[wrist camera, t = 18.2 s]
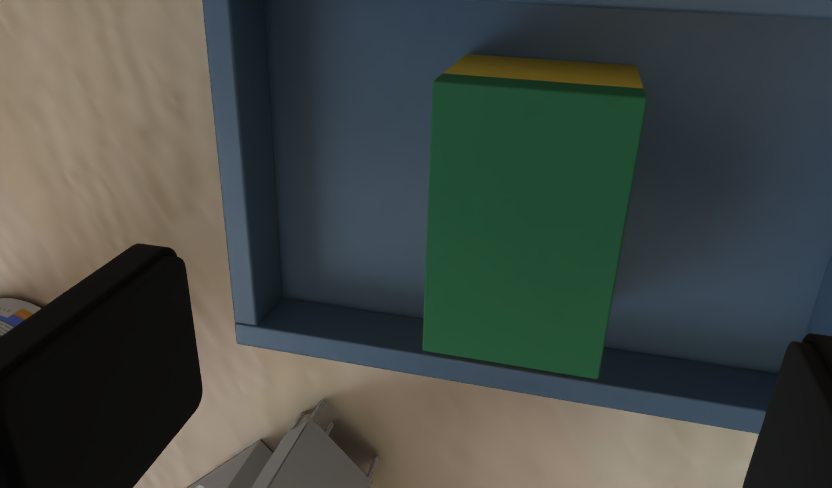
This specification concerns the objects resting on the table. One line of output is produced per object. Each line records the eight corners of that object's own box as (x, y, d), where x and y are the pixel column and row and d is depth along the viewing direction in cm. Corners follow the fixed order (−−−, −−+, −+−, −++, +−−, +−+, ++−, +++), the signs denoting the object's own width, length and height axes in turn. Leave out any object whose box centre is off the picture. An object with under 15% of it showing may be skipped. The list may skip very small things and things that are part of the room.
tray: (248, -49, 19) (195, -48, 17) (944, -22, 15) (1010, -16, 13) (273, 302, 24) (236, 344, 21) (806, 386, 20) (835, 448, 18)
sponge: (464, 53, 18) (432, 81, 14) (637, 65, 17) (648, 97, 13) (451, 281, 21) (421, 351, 17) (598, 302, 20) (598, 380, 16)
